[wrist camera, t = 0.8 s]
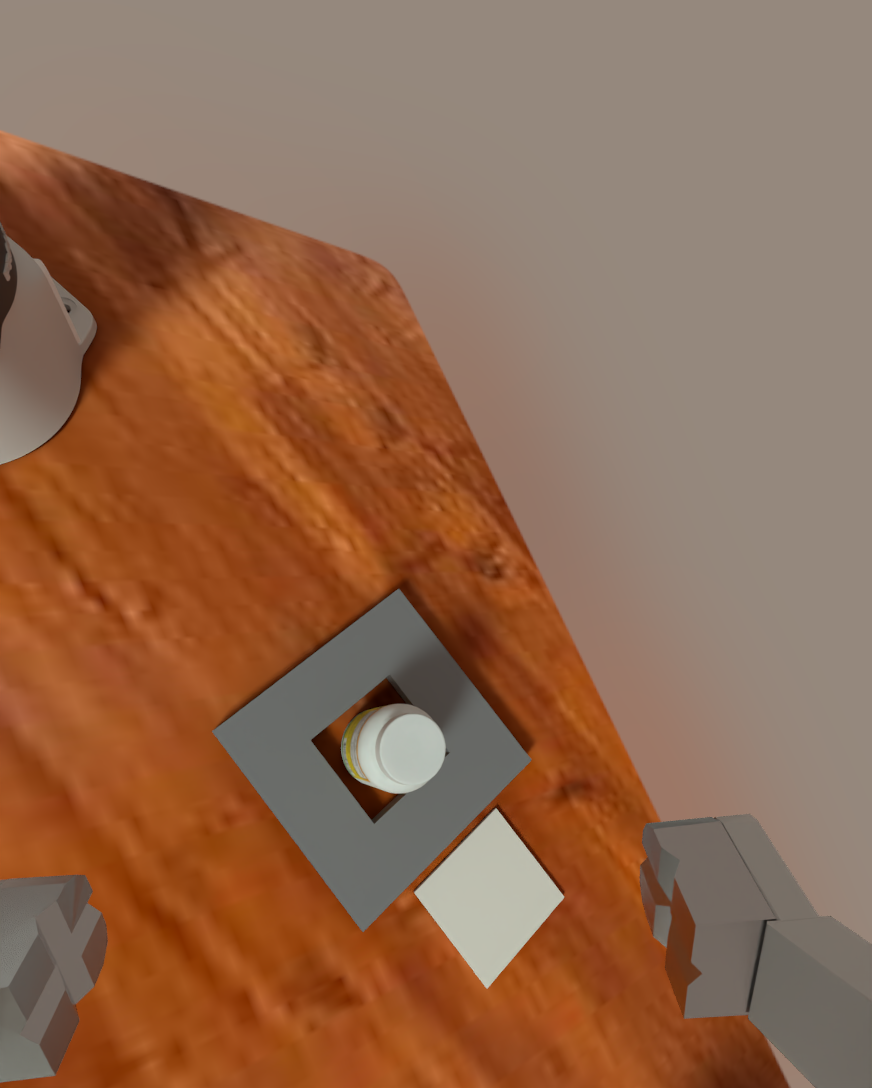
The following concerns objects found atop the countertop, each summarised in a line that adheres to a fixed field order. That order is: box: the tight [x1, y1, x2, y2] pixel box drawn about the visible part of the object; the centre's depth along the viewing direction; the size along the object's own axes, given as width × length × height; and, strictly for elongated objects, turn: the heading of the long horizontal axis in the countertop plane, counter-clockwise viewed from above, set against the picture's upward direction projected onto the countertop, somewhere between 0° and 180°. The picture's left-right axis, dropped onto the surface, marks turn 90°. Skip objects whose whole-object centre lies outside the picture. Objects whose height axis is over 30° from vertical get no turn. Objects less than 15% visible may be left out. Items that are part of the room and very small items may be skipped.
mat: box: [413, 808, 564, 988], centre depth 45 cm, size 8×8×1 cm
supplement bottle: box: [341, 704, 446, 794], centre depth 41 cm, size 5×5×10 cm
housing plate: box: [212, 589, 531, 932], centre depth 45 cm, size 16×16×2 cm
